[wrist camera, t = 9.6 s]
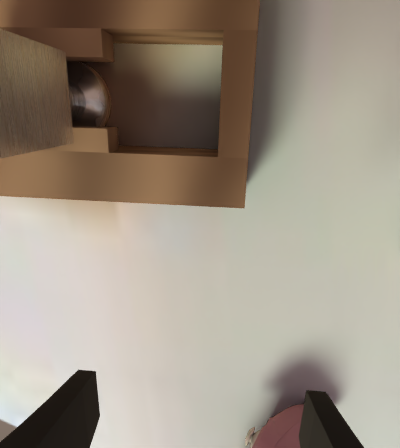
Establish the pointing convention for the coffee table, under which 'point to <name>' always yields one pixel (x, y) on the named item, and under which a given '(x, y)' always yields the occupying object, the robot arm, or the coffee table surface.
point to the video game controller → (278, 430)
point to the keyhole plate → (108, 136)
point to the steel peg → (45, 96)
